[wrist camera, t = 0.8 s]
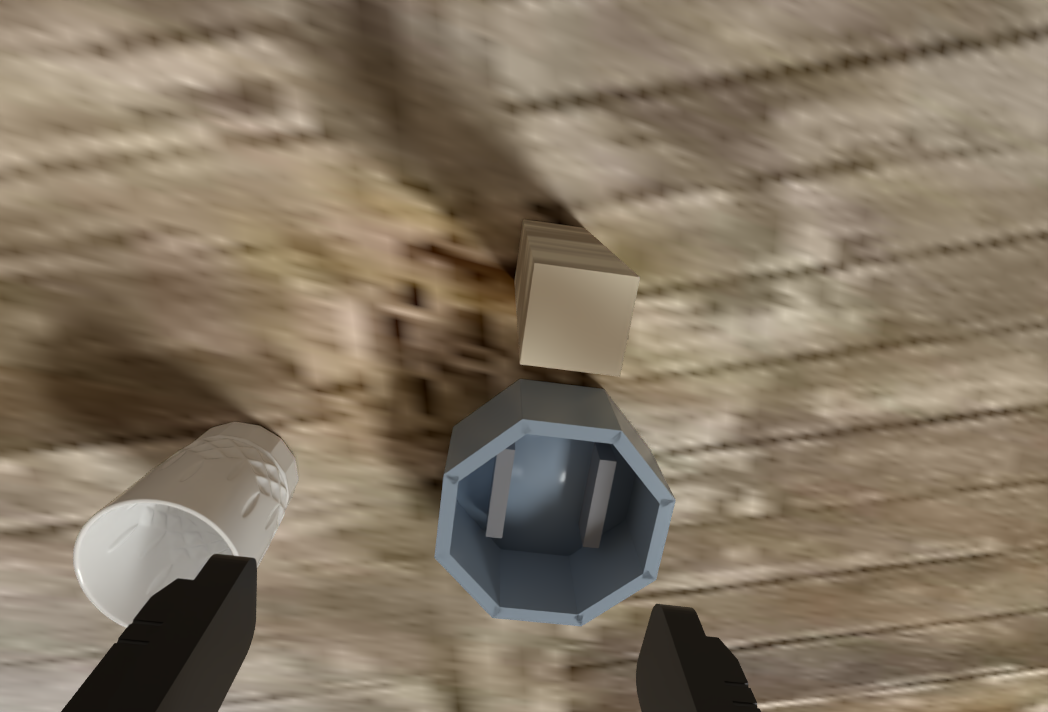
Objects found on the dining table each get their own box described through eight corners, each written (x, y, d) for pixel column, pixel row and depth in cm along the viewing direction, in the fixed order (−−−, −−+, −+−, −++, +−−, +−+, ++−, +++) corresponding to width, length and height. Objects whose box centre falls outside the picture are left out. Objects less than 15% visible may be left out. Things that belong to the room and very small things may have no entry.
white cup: (287, 539, 40) (218, 658, 30) (167, 498, 39) (57, 608, 29) (325, 439, 38) (263, 534, 28) (199, 393, 36) (91, 475, 27)
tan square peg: (522, 219, 34) (534, 262, 20) (584, 227, 34) (640, 277, 20) (514, 280, 35) (519, 364, 21) (574, 288, 35) (620, 376, 21)
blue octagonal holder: (459, 371, 36) (450, 410, 31) (662, 396, 37) (690, 438, 32) (439, 547, 40) (428, 611, 35) (624, 566, 41) (642, 631, 35)
